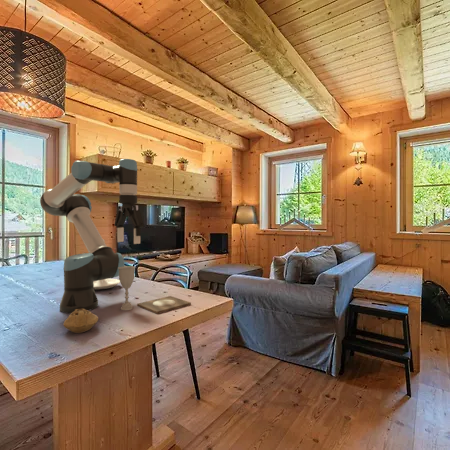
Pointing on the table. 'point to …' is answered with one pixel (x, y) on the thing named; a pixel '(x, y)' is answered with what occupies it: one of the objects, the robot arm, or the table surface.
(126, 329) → the table surface
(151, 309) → the board
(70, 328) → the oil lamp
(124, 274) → the chalice
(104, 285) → the candlestick
